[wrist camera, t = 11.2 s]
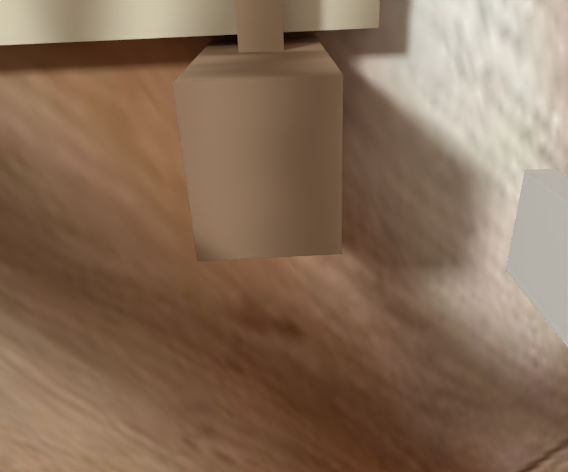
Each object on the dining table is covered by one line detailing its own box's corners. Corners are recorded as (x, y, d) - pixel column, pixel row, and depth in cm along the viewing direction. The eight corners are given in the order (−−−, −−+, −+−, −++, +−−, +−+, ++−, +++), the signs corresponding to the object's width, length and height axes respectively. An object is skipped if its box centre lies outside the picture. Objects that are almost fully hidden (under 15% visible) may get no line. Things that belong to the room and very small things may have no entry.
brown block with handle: (222, 164, 26) (197, 261, 17) (190, -142, 20) (127, -232, 11) (318, 160, 26) (341, 253, 17) (313, -148, 20) (346, -243, 11)
